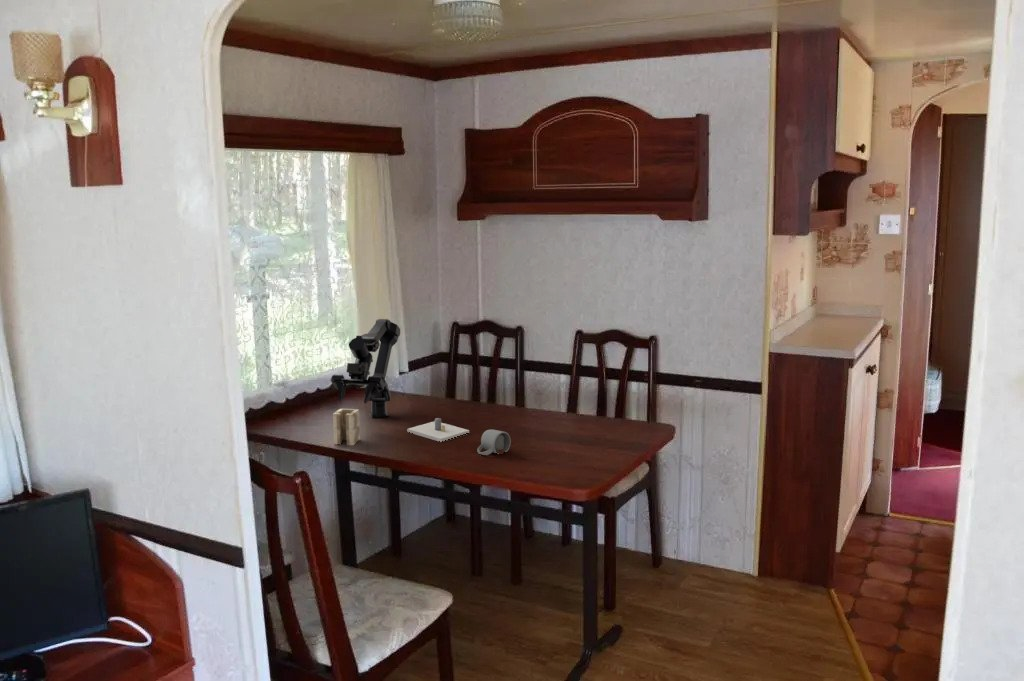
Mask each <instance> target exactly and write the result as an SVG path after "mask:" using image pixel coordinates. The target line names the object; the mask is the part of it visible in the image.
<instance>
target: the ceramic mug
mask: <svg viewBox="0 0 1024 681" xmlns="http://www.w3.org/2000/svg"><path fill="white" fill-rule="evenodd" d="M511 442H512V441H511V436H510V435H509V433H508V432H506V431H502V430H497V429H487V430H485V431H484V432H483V433H482V435H481V437H480V445H479V446H478V447H477V453H478V455H479V454H482V455H486V456H489V455H490V454H492V453H494V454H496V453H497V452H496V451H501V450H503V451H505V452H506V453H507V452H508V451H509V449H510V448H511V447H510V446H511ZM483 449H485V451H482V450H483ZM497 455H499V453H497Z"/></svg>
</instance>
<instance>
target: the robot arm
mask: <svg viewBox="0 0 1024 681" xmlns="http://www.w3.org/2000/svg"><path fill="white" fill-rule="evenodd" d="M371 327H372V328H371V329H370V330H369V331H368V332H367V333H364V334H362V335H356V337H355V338H352V339H351V340H349V342H348V347H349V350H350V351H351V352H350V353H351V354H352V355H353V358H355V361H354V362H353V363H352V362H350V363H349V362H348V363H347V365H346V373H347V374H348V376H349V378H346V377H344V375H343V374H333V375H332V376H331V378H330V382H331V384H332V386H333V387H334V389H336V390H337V391H338V401H339V403H341V404H342V402H343V400H344V396H345V394H346V386H347V385H352V386H353V385H355V386H364V395H365V396H364V400H363V403H364V404H365V405H366V404H367V403H369V402H370V410H371V412H369V413H368V414H369V416H370V417H371V418H372V419H374V418H375V419H376V418H386V416H388V417H389V414H388V413H387V402H391V399H392V393H391V391H390V389H389V388H388V387H389V384H388V382H387V380H386V376H387V374H388V373H387V372H388V367H389V362H390V356H391V353H392V348H393V347H394V346H395V345H396V344H397V343H398V340H399V337H400V335H401V328H400V327H399V325H398V324H397V323H394V322H392V321H391V320H390V319H388V318H378V319H376V320H375V324H374V325H373V326H371ZM377 351H378V353H377V357H376V362H375V367H374V372H373V375H372V376H370V375H371V374H370V373H371V372H370V368H371V365H372V363H373V362H374V359H373V358H374V357H373V354H372V353H376V352H377Z"/></svg>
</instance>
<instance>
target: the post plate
mask: <svg viewBox="0 0 1024 681" xmlns="http://www.w3.org/2000/svg"><path fill="white" fill-rule="evenodd" d="M406 431H407V433H409V432H410V434H412V433H413V435H416V436H419V437H423V438H426V439H429V440H433V441H437V442H439V441H440V443H442V441H443V442H446V441H449V440H448V439H450V440H452V439H451V438H453V439H455V438H454V437H456V438H458V437H457V436H460V435H463V434H466V433H469V434H470V430H469V429H466V428H462V427H458V426H455V425H453V424H448V423H446V422H445V423H443V422H442V418H441V417H436V418H434V421H430V422H427V423H424V424H419V425H416V426H413V427H409V428H407V429H406ZM466 435H467V434H466ZM463 436H464V435H463ZM460 437H461V436H460ZM445 440H446V441H445Z"/></svg>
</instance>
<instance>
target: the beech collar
mask: <svg viewBox="0 0 1024 681" xmlns="http://www.w3.org/2000/svg"><path fill="white" fill-rule="evenodd" d="M332 426H333V432H332V433H333V445H337V444H340V445H342V444H341V443H342V441H346V446H354V445H355V444H357V443H358V442H359V441H360V440H361V431H360V430H361V428H360V409H357V408H339V409H338V410H336V411H334V412H333V413H332ZM358 440H359V441H358ZM357 441H358V442H357ZM356 442H357V443H356Z"/></svg>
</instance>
